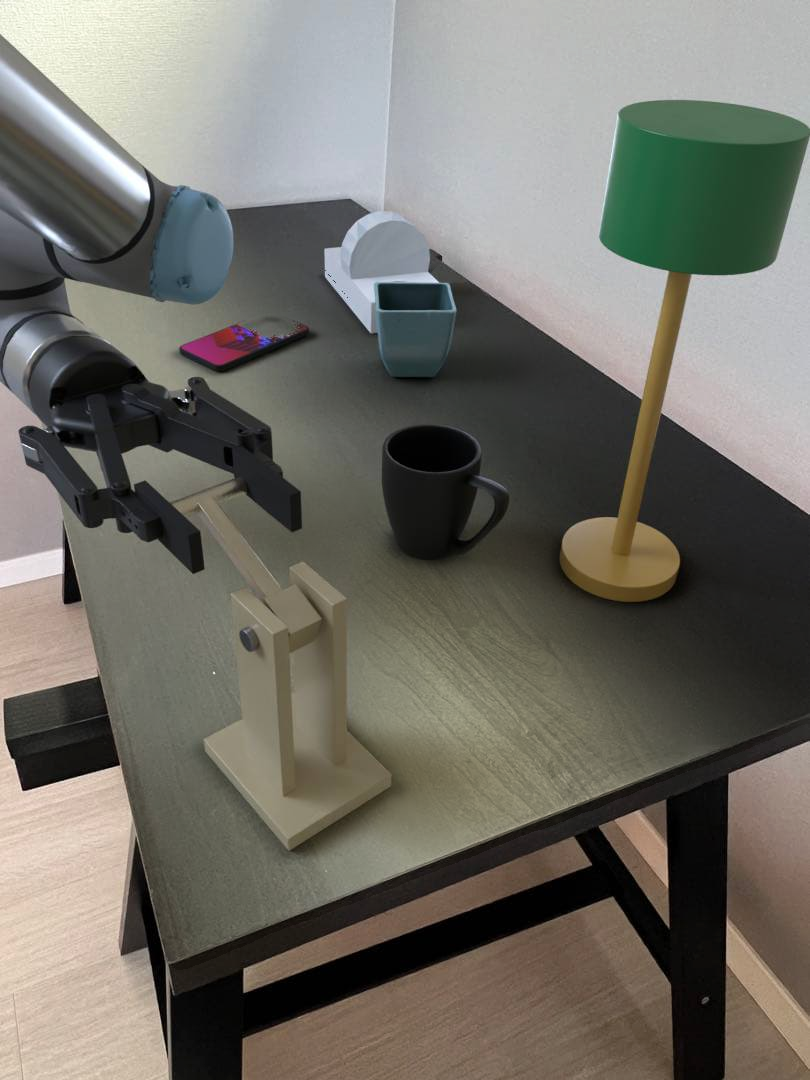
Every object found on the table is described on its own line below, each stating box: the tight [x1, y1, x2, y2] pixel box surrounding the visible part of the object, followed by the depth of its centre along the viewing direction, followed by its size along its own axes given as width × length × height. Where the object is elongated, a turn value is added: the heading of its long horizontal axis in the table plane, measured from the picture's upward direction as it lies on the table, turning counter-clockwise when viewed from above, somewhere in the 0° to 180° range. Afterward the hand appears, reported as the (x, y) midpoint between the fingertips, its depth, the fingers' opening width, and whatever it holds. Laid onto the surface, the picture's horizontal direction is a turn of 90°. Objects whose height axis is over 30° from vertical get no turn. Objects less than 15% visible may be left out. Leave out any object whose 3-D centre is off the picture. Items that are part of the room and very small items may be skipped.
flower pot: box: [374, 282, 457, 378], centre depth 108 cm, size 9×9×9 cm
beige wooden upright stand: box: [203, 561, 392, 852], centre depth 58 cm, size 10×8×15 cm
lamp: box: [559, 99, 810, 603], centre depth 71 cm, size 12×12×36 cm
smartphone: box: [178, 320, 310, 372], centre depth 114 cm, size 8×1×15 cm
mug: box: [381, 423, 510, 560], centre depth 80 cm, size 8×12×10 cm
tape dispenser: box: [324, 210, 440, 334], centre depth 124 cm, size 20×11×11 cm, turn 21°
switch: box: [168, 477, 322, 655], centre depth 57 cm, size 12×6×2 cm, turn 40°
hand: (247, 531), depth 55 cm, fingers closed on switch, 6 cm apart
